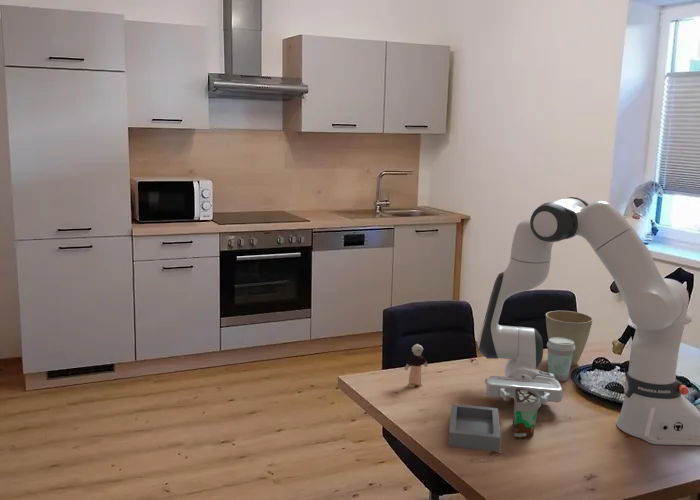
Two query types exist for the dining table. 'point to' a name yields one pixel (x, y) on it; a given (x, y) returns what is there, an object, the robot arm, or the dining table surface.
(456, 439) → the tray
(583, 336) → the plant pot
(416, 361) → the grandmother figurine
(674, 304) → the robot arm
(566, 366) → the coffee cup
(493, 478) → the dining table surface
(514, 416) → the food container
